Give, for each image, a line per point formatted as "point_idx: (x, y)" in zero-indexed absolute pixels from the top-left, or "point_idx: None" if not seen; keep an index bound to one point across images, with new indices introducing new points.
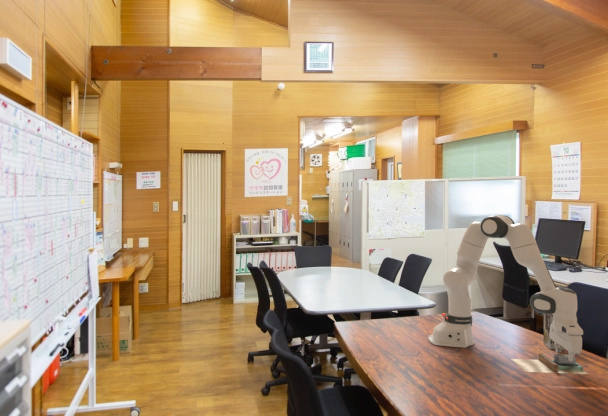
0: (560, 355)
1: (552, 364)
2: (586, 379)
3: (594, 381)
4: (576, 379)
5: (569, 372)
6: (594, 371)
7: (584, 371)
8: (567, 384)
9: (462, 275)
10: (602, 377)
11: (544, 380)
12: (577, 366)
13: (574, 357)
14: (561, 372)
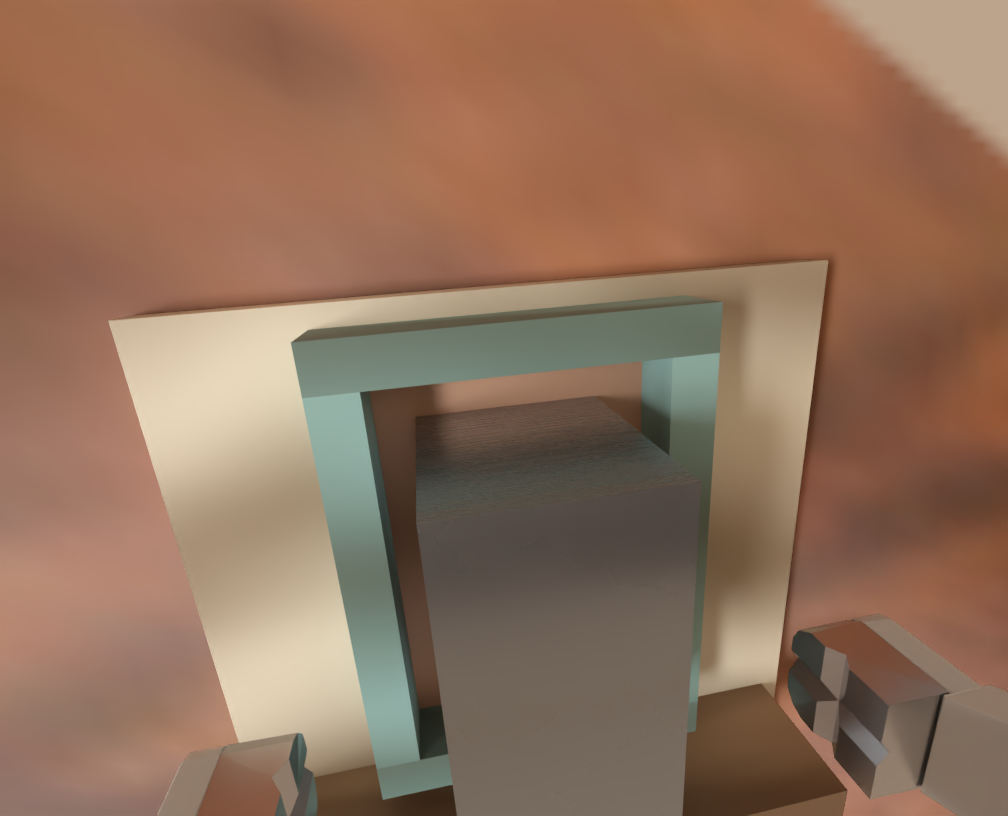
0: (538, 775)
1: None
2: (908, 368)
3: (981, 283)
4: (895, 501)
5: (758, 547)
6: (586, 13)
7: (716, 290)
8: (998, 637)
9: None
10: (864, 33)
11: (885, 805)
12: (685, 405)
13: (661, 499)
14: (760, 646)
